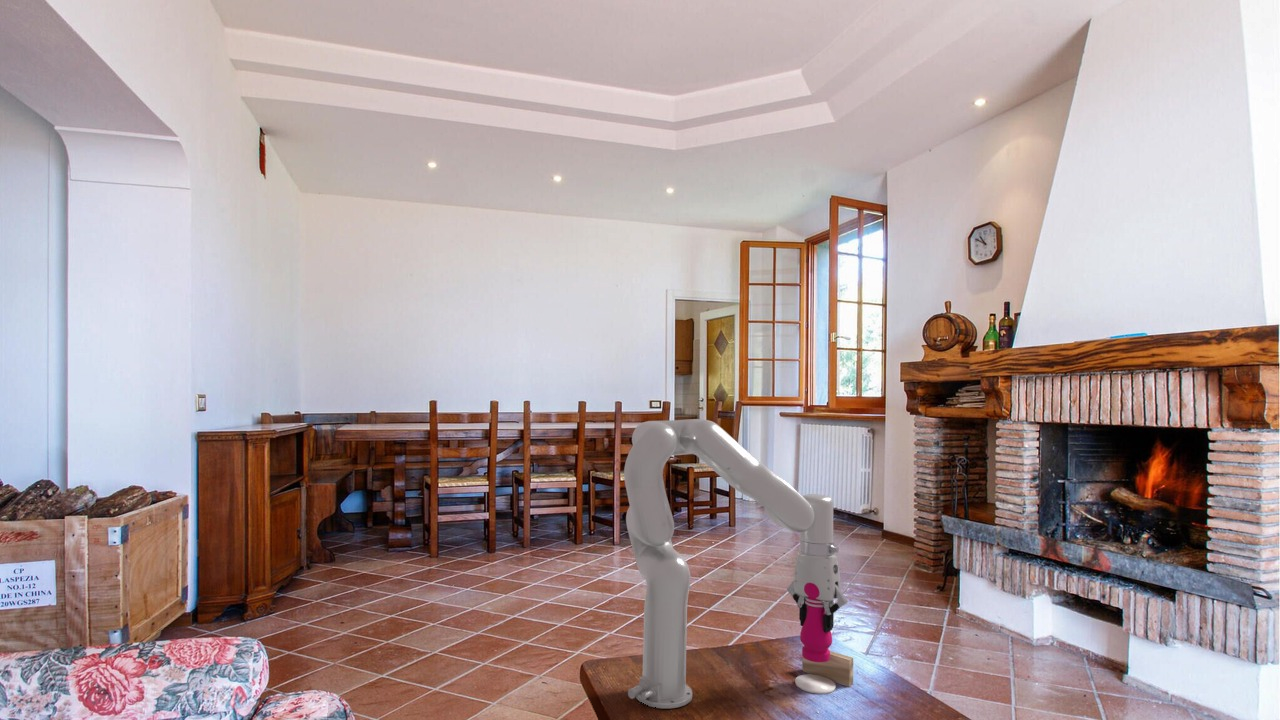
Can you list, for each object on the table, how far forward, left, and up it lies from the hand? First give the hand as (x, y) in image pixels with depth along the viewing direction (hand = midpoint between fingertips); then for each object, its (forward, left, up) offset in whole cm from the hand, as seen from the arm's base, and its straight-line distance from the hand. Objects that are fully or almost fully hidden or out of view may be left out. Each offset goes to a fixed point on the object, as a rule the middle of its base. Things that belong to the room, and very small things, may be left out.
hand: (816, 626), depth 151 cm
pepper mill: (0, 0, -7) cm, 7 cm away
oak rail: (+6, 0, -13) cm, 14 cm away
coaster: (0, 0, -13) cm, 13 cm away
